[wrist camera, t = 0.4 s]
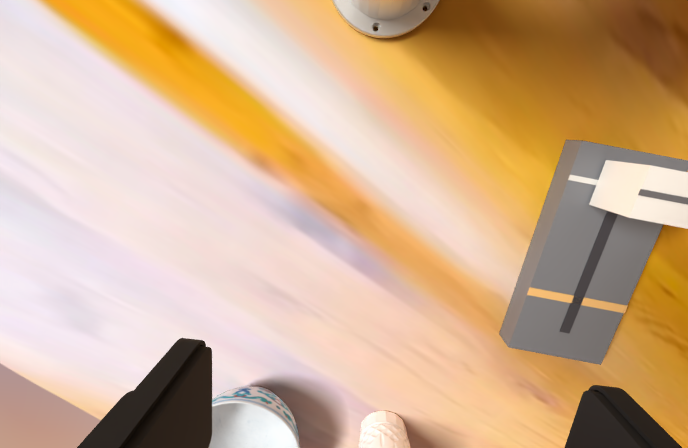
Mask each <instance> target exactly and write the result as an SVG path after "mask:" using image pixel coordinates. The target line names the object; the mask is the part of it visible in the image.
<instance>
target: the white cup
mask: <svg viewBox="0 0 688 448" xmlns="http://www.w3.org/2000/svg"><path fill="white" fill-rule="evenodd" d="M359 448H410V443H409V439H408V436H407V431H406V427H405V425H404V422H403V420H402V419H401V418H400V417H399V416H398V415H396V414H395V413H392V412H389V411H375V412H373V413H371V414H369V415H367V416H366V417H365V419H364V420H363V421H362V423H361V431H360V441H359Z"/></svg>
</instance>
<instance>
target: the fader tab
mask: <svg viewBox="0 0 688 448" xmlns="http://www.w3.org/2000/svg"><path fill="white" fill-rule="evenodd" d="M589 205H592V206H595V207H598V208H601V209H604V210H607V211H610V212H613V213H616V214H619V215H622V216H626V217H629V218H634V219H639V220H644V221H649V222H655V223H660V224H665V225H670V226H676V227H681V228H686V229H688V172H683V171H678V170H673V169H667V168H662V167H657V166H651V165H644V164H635V163H627V162H619V161H610V160H606V161H605V164H604V167H603V169H602V172H601V174H600V177H599V180H598V182H597V185H596V188H595V190H594V193H593V195H592V198H591V201H590V203H589Z"/></svg>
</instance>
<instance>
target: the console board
mask: <svg viewBox="0 0 688 448" xmlns="http://www.w3.org/2000/svg"><path fill="white" fill-rule="evenodd" d="M606 160H610V161H619V162H627V163H635V164H644V165H651V166H657V167H662V168H667V169H673V170H678V171H683V172H687V171H688V161H687V160H682V159H676V158H671V157H666V156H660V155H655V154H650V153H645V152H639V151H634V150H629V149H624V148H618V147H613V146H608V145H602V144H597V143H592V142H587V141H579V140H566V142H565V145H564V147H563V150H562V153H561V156H560V159H559V162H558V165H557V168H556V171H555V174H554V176H553V179H552V182H551V185H550V188H549V191H548V194H547V197H546V200H545V203H544V205H543V208H542V211H541V214H540V217H539V220H538V223H537V226H536V229H535V232H534V234H533V237H532V240H531V243H530V246H529V249H528V252H527V255H526V258H525V261H524V263H523V266H522V269H521V272H520V275H519V278H518V281H517V284H516V287H515V290H514V292H513V295H512V298H511V301H510V304H509V307H508V310H507V313H506V316H505V319H504V321H503V324H502V327H501V330H500V333H499V334H500V336H501V337H502V339H503V340H504V342H505V343H506V345H507V346H508V347H510V348H515V349H520V350H526V351H531V352H536V353H542V354H547V355H552V356H557V357H563V358H568V359H573V360H579V361H584V362H589V363H595V364H600V365H601V363H602V361H603V359H604V356H605V354H606V352H607V350H608V347H609V345H610V343H611V341H612V339H613V336H614V334H615V332H616V330H617V327H618V325H619V323H620V321H621V318H622V316H623V314H624V313H625V312H626V309H627V307H628V306H627V305H628V303H629V300H630V298H631V296H632V294H633V291H634V289H635V287H636V285H637V283H638V280H639V278H640V276H641V274H642V271H643V269H644V267H645V265H646V262H647V260H648V258H649V256H650V253H651V251H652V249H653V247H654V244H655V242H656V240H657V238H658V235H659V233H660V231H661V229H662V227H663V224H660V223H655V222H649V221H644V220H639V219H634V218H629V217H626V216H622V215H619V214H616V213H613V212H610V211H607V210H604V209H601V208H598V207H595V206H592V205H589V203H590V201H591V198H592V195H593V193H594V190H595V188H596V185H597V182H598V180H599V177H600V174H601V172H602V169H603V167H604V164H605V161H606Z"/></svg>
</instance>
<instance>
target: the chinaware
mask: <svg viewBox="0 0 688 448" xmlns="http://www.w3.org/2000/svg"><path fill="white" fill-rule="evenodd" d="M208 448H300V443H299V434H298V429H297V425H296V422H295V419H294V417H293V415H292V413H291V411H290V409H289V408H288V407H287V405H286V404H285V403H284V402H283V401H282V400H281V399H280V398H279V397H278V396H276V395H275V394H274V393H273V392H272V391H270V390H268V389H266V388H263V387H258V386H254V387H239V388H235V389H231V390H228V391H226V392H224V393H222V394H220V395H218V396H217V397H215V398H214V399H212V437H211V442H210V445H209V447H208Z"/></svg>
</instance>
